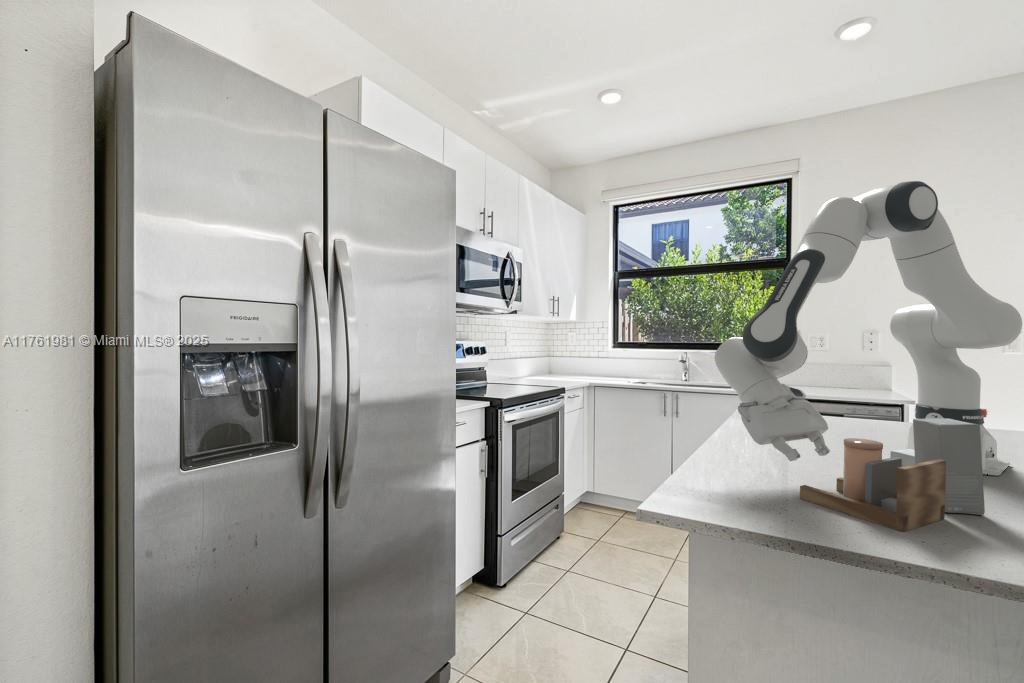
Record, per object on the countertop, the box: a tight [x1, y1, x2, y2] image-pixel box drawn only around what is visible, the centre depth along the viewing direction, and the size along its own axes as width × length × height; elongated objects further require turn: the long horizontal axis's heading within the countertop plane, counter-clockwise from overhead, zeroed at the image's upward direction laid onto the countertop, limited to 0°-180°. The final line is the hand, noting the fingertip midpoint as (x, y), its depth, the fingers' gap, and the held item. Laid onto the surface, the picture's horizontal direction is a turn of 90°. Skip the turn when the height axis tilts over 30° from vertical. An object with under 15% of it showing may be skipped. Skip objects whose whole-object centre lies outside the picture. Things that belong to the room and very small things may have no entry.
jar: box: [842, 437, 884, 503], centre depth 89 cm, size 6×6×12 cm
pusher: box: [865, 457, 902, 512], centre depth 85 cm, size 9×3×9 cm, turn 116°
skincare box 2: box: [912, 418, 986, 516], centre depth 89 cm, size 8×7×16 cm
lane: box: [799, 459, 946, 533], centre depth 88 cm, size 13×17×10 cm
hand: (811, 456), depth 97 cm, fingers open, 8 cm apart
